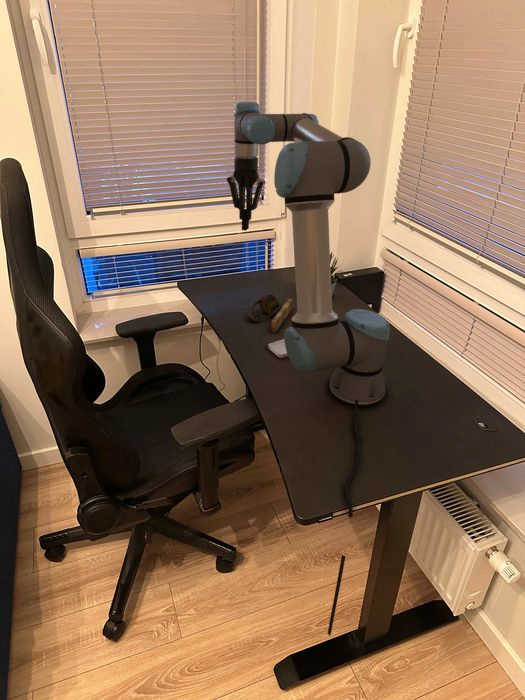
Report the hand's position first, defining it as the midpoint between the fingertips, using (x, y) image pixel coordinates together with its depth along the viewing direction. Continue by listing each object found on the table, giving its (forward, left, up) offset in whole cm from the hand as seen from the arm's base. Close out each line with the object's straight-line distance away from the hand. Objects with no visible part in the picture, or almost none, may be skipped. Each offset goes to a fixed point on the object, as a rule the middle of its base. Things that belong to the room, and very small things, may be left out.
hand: (245, 229), depth 171 cm
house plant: (+16, -26, -27) cm, 40 cm away
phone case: (-25, -27, -27) cm, 45 cm away
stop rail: (-10, -18, -27) cm, 33 cm away
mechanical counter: (-9, -11, -27) cm, 30 cm away
